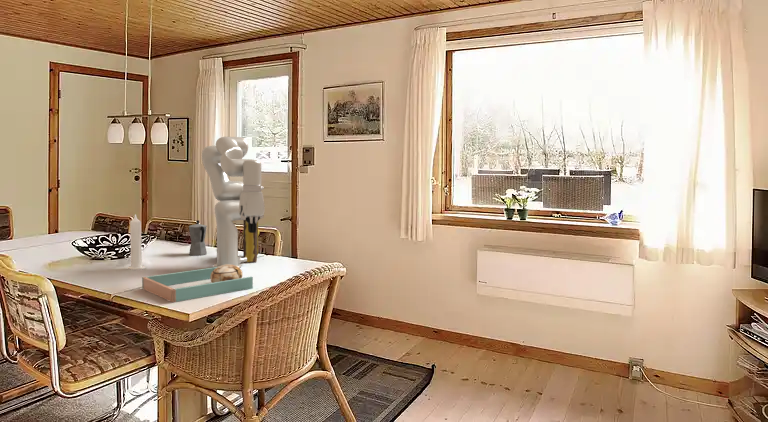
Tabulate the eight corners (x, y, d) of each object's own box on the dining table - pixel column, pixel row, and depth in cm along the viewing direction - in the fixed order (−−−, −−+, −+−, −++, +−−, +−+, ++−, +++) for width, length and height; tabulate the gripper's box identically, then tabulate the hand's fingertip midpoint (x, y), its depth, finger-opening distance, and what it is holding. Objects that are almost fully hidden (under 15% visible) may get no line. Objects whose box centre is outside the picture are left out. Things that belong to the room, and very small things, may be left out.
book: (258, 262, 270) (258, 212, 268) (240, 263, 269) (241, 212, 266) (259, 254, 292) (259, 208, 289) (242, 254, 290) (242, 208, 288)
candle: (138, 270, 246) (137, 215, 243) (124, 269, 247) (123, 214, 245) (148, 267, 253) (147, 213, 250) (134, 266, 254) (133, 213, 252)
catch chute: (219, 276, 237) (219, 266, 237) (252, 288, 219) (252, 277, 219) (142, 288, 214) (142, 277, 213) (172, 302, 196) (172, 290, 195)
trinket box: (212, 289, 216) (212, 269, 215) (207, 281, 230) (207, 262, 229) (246, 286, 222) (246, 267, 221) (239, 278, 235) (239, 260, 234)
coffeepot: (185, 253, 291) (184, 219, 289) (202, 251, 296) (202, 218, 295) (194, 257, 279) (194, 222, 277) (212, 256, 284) (212, 221, 282)
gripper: (262, 188, 238) (262, 230, 240) (231, 189, 227) (231, 232, 229) (272, 189, 233) (272, 232, 234) (241, 190, 222) (241, 234, 224)
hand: (252, 232), depth 232 cm, fingers closed
